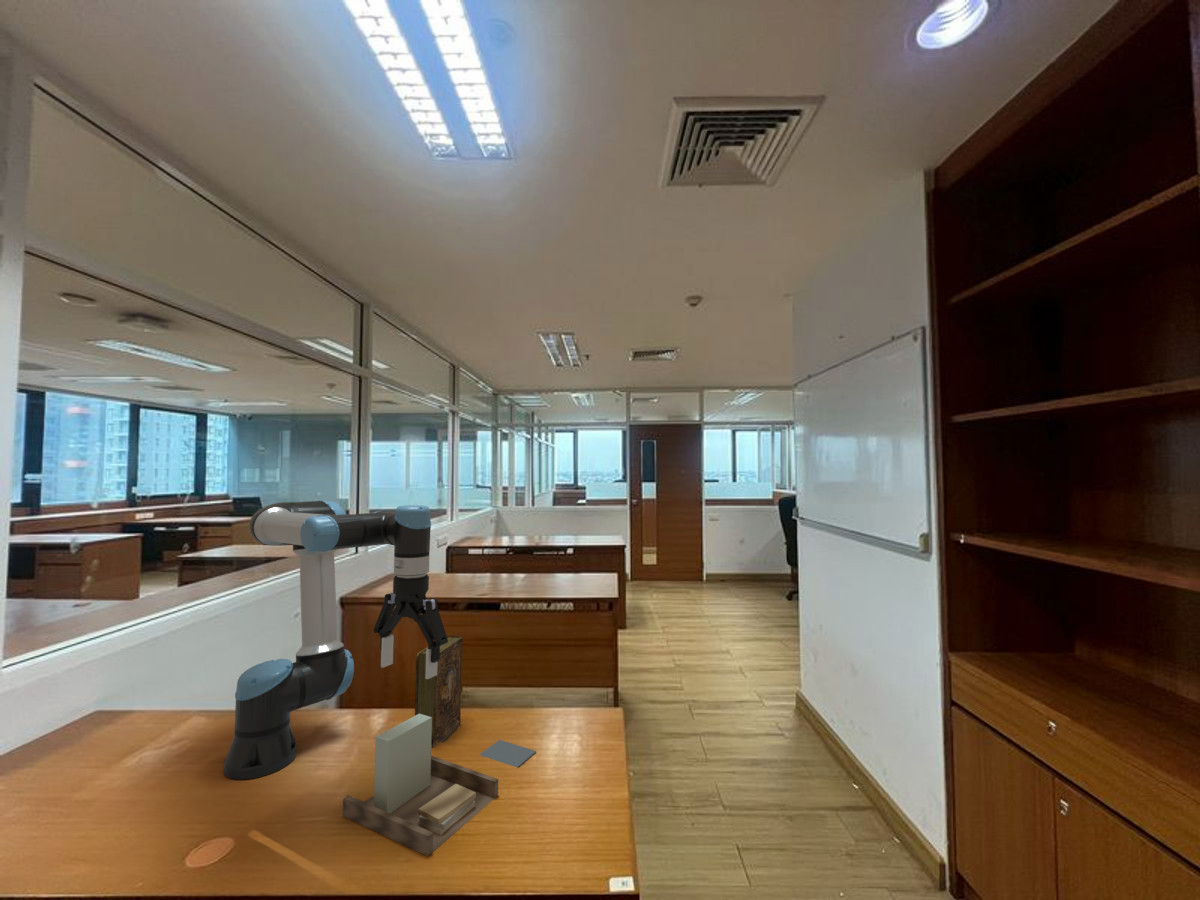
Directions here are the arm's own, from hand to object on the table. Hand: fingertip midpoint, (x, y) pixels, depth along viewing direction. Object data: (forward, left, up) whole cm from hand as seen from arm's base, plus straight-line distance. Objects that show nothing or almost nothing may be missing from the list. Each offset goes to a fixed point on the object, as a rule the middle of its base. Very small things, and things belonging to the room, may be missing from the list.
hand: (408, 671), depth 113 cm
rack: (+6, -1, -28) cm, 29 cm away
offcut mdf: (+13, -1, -26) cm, 29 cm away
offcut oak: (+13, -1, -25) cm, 28 cm away
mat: (+8, +21, -28) cm, 36 cm away
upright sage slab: (0, -1, -27) cm, 27 cm away
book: (-14, +24, -29) cm, 40 cm away
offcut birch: (+13, -1, -27) cm, 30 cm away
